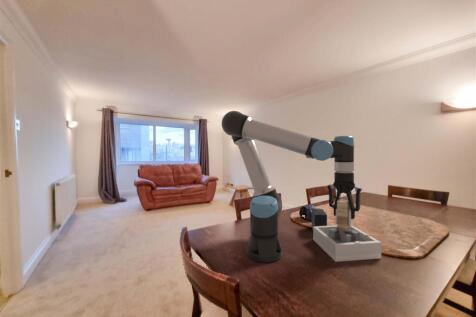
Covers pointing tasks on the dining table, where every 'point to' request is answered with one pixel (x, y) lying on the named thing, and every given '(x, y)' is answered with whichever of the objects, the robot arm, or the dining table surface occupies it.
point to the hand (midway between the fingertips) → (344, 224)
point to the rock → (306, 211)
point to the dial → (344, 236)
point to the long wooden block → (343, 217)
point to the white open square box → (347, 245)
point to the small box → (319, 218)
